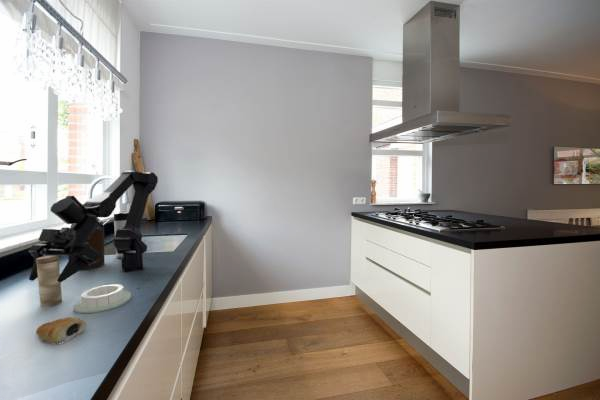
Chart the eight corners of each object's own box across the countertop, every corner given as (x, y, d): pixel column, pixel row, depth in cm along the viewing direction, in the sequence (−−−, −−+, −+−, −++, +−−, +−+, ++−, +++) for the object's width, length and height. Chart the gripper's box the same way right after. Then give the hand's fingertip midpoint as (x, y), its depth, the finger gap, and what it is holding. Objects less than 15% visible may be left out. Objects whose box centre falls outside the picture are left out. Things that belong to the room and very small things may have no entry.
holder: (129, 289, 86) (128, 278, 86) (132, 304, 76) (131, 292, 75) (76, 300, 79) (75, 288, 79) (71, 318, 68) (70, 305, 68)
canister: (63, 298, 80) (60, 254, 79) (61, 304, 77) (57, 258, 76) (41, 302, 78) (37, 257, 77) (38, 308, 74) (34, 261, 73)
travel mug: (115, 259, 120) (112, 213, 118) (117, 256, 126) (114, 212, 124) (132, 257, 123) (129, 212, 121) (133, 254, 128) (130, 211, 127)
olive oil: (112, 262, 116) (108, 202, 114) (95, 270, 106) (90, 204, 104) (85, 262, 116) (81, 203, 114) (66, 271, 105) (60, 205, 103)
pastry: (25, 341, 59) (24, 324, 59) (59, 325, 66) (58, 309, 65) (59, 347, 57) (58, 329, 57) (91, 330, 64) (90, 313, 63)
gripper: (33, 217, 81) (-12, 265, 71) (87, 217, 78) (49, 268, 68) (62, 238, 89) (26, 284, 79) (112, 239, 86) (82, 287, 76)
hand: (44, 280), depth 75 cm, fingers open, 9 cm apart
